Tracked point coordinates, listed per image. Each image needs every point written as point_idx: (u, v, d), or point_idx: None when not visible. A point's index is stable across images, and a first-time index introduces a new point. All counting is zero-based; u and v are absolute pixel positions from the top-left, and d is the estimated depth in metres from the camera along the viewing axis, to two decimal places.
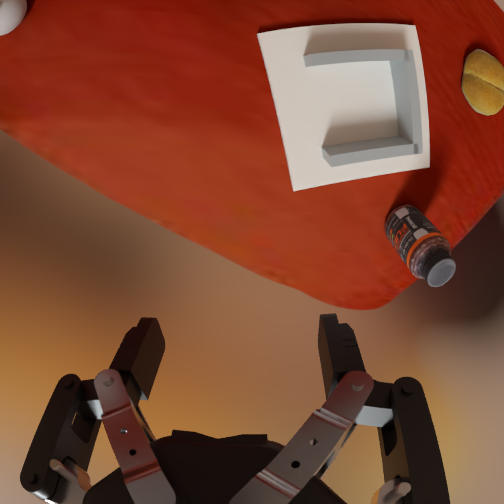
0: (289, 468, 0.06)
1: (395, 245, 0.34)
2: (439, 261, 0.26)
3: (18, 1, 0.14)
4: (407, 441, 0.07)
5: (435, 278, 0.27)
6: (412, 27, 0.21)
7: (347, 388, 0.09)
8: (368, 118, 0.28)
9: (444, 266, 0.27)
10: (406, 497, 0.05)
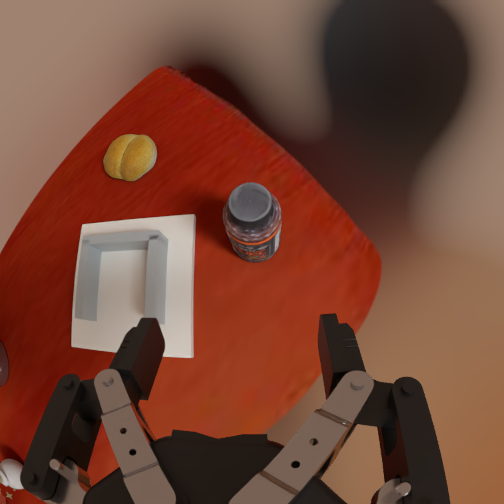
0: (289, 468, 0.06)
1: (258, 254, 0.32)
2: (229, 209, 0.26)
3: (9, 462, 0.25)
4: (407, 441, 0.07)
5: (254, 209, 0.26)
6: (83, 227, 0.39)
7: (347, 388, 0.09)
8: (140, 277, 0.36)
9: (238, 200, 0.26)
10: (406, 496, 0.05)
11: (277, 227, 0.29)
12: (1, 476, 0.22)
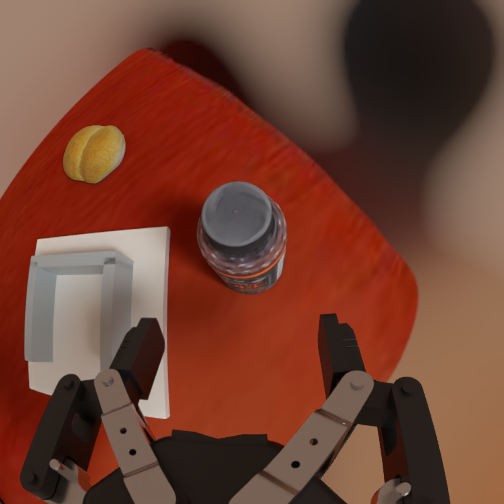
0: (289, 468, 0.06)
1: (253, 286, 0.22)
2: (203, 226, 0.16)
3: None
4: (407, 441, 0.07)
5: (243, 226, 0.16)
6: (38, 242, 0.29)
7: (347, 388, 0.09)
8: (99, 310, 0.26)
9: (217, 211, 0.16)
10: (406, 496, 0.05)
11: (281, 251, 0.18)
12: None
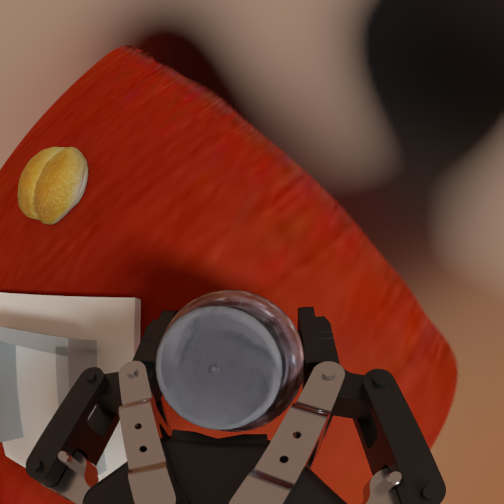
0: (278, 464, 0.06)
1: None
2: None
3: None
4: (388, 431, 0.07)
5: (230, 398, 0.08)
6: None
7: (319, 379, 0.10)
8: None
9: (182, 366, 0.08)
10: (399, 485, 0.06)
11: None
12: None
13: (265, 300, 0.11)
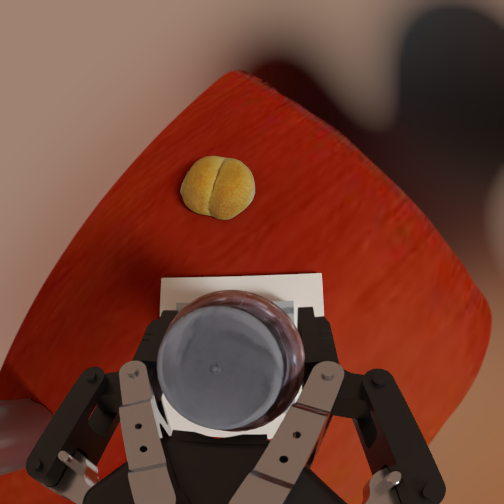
0: (278, 464, 0.06)
1: None
2: (161, 389, 0.08)
3: None
4: (388, 431, 0.07)
5: (231, 398, 0.08)
6: (163, 281, 0.33)
7: (319, 379, 0.10)
8: None
9: (183, 366, 0.08)
10: (398, 484, 0.06)
11: (294, 398, 0.10)
12: None
13: (266, 300, 0.11)
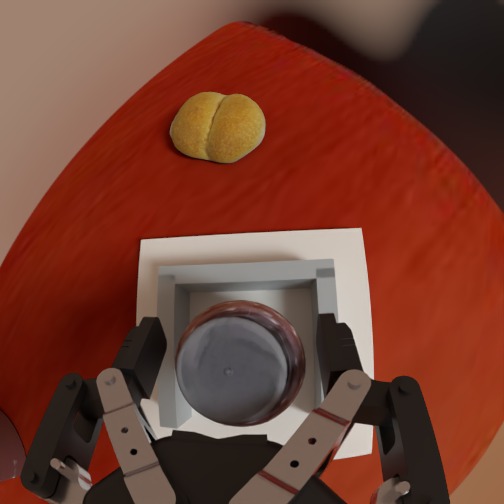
0: (288, 468, 0.06)
1: None
2: (180, 390, 0.10)
3: None
4: (405, 440, 0.07)
5: (242, 396, 0.09)
6: (143, 244, 0.24)
7: (344, 387, 0.09)
8: None
9: (200, 369, 0.10)
10: (406, 495, 0.05)
11: (295, 396, 0.12)
12: None
13: (271, 309, 0.13)
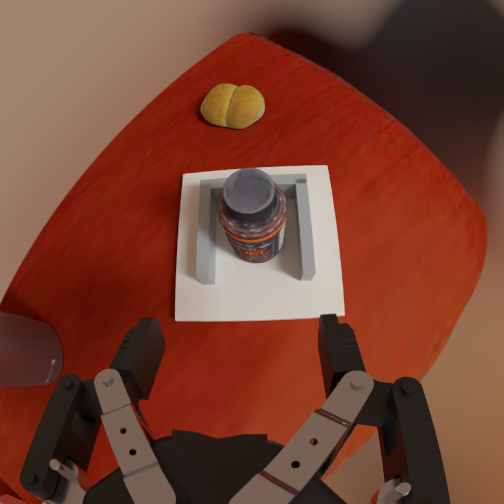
0: (289, 468, 0.06)
1: (260, 253, 0.28)
2: (224, 199, 0.22)
3: None
4: (407, 441, 0.07)
5: (254, 199, 0.22)
6: (185, 177, 0.36)
7: (347, 388, 0.09)
8: None
9: (235, 188, 0.22)
10: (406, 496, 0.05)
11: (281, 221, 0.24)
12: None
13: None
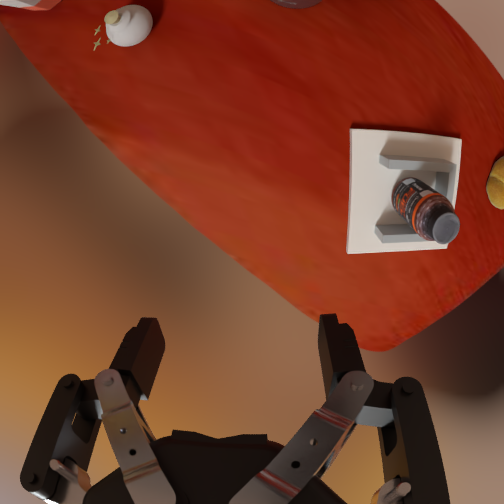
0: (289, 468, 0.06)
1: (401, 208, 0.34)
2: (444, 213, 0.27)
3: (148, 20, 0.25)
4: (407, 441, 0.07)
5: (440, 232, 0.28)
6: (459, 140, 0.33)
7: (347, 388, 0.09)
8: None
9: (449, 220, 0.27)
10: (406, 496, 0.05)
11: (422, 237, 0.31)
12: (121, 21, 0.23)
13: None
